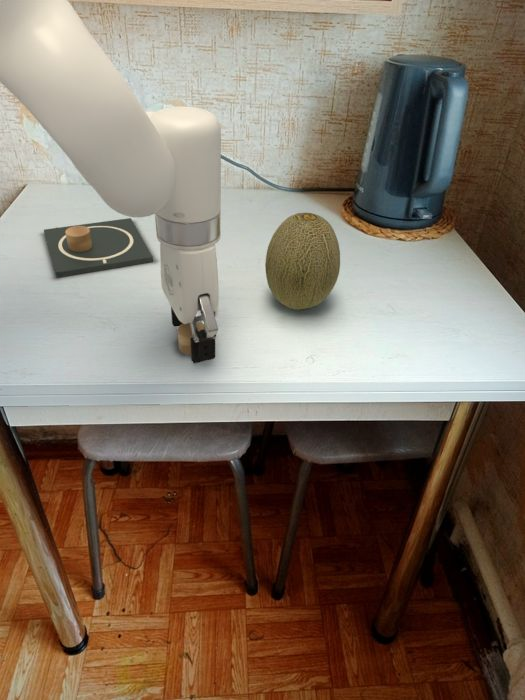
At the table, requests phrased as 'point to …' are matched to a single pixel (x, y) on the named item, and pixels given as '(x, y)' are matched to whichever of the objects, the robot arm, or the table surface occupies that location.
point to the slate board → (98, 248)
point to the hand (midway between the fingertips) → (193, 340)
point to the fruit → (302, 261)
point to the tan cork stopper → (186, 336)
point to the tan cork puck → (78, 238)
